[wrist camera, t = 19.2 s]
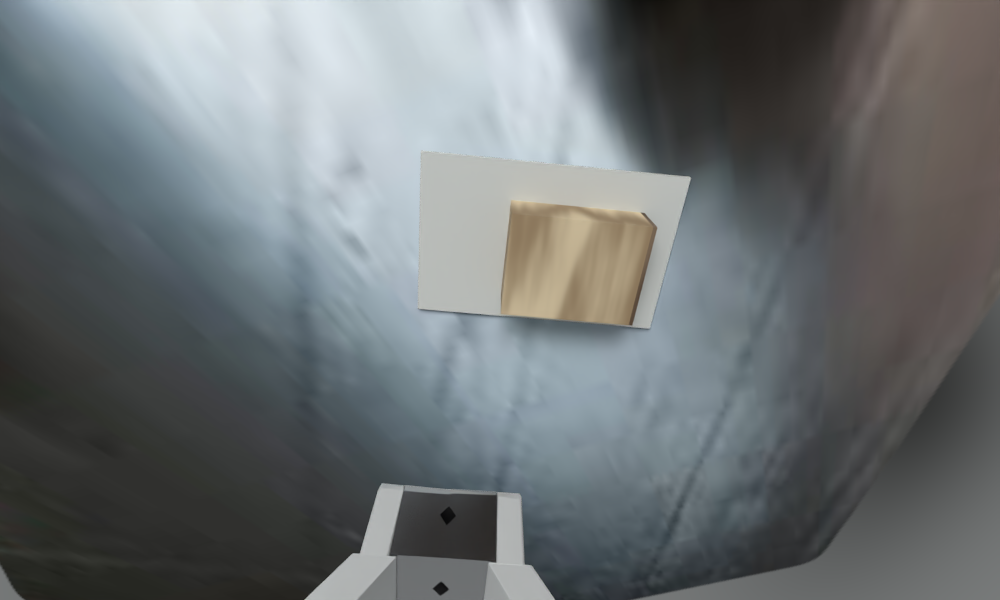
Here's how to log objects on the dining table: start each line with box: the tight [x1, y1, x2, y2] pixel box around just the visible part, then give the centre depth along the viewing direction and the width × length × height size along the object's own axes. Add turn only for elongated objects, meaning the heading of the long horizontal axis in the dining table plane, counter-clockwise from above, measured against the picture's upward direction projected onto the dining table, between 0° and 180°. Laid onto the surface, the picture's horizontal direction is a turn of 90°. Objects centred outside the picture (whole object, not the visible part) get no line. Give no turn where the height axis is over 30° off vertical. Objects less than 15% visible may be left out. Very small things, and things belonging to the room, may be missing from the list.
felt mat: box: [418, 151, 691, 329], centre depth 38 cm, size 20×13×1 cm, turn 85°
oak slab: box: [501, 200, 658, 326], centre depth 37 cm, size 4×8×10 cm
